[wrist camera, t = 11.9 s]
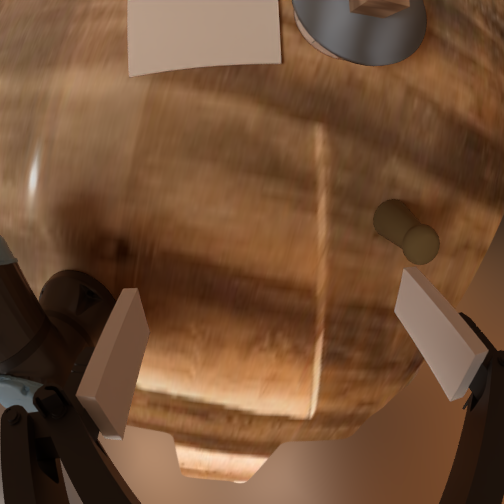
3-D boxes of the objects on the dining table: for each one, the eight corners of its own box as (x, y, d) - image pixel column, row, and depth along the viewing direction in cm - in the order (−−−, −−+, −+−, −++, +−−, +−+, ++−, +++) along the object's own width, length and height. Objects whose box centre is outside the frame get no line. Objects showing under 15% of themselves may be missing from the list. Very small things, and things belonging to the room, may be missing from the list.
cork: (382, 193, 43) (421, 221, 33) (413, 206, 44) (453, 235, 34) (367, 230, 45) (399, 266, 35) (397, 241, 46) (432, 276, 36)
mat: (130, 77, 34) (129, 77, 33) (130, -42, 25) (129, -43, 25) (280, 64, 34) (281, 63, 34) (273, -56, 26) (273, -58, 25)
